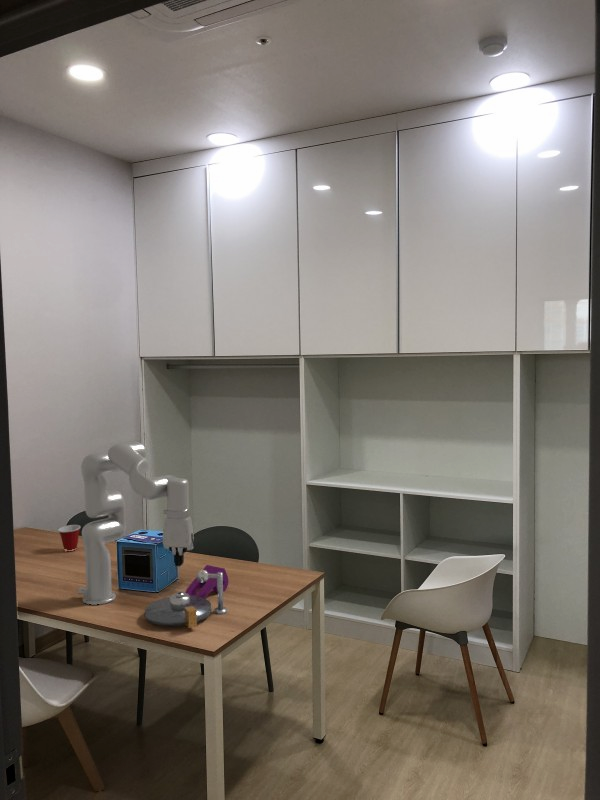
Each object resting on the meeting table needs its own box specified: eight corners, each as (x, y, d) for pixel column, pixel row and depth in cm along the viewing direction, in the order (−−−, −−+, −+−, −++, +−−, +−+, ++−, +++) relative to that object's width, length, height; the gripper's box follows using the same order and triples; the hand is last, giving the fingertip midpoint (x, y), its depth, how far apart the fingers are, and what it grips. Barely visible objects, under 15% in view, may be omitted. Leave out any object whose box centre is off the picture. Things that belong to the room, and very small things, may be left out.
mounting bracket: (205, 615, 253) (230, 583, 267) (199, 599, 250) (224, 568, 263) (187, 611, 258) (212, 580, 272) (180, 595, 255) (206, 564, 268)
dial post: (196, 612, 241) (195, 571, 240) (201, 607, 246) (200, 567, 245) (224, 614, 239) (224, 573, 238) (229, 609, 244) (228, 568, 243)
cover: (173, 611, 233) (173, 597, 233) (168, 605, 239) (167, 591, 239) (192, 608, 236) (191, 594, 236) (186, 602, 243) (186, 588, 242)
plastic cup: (54, 551, 323) (53, 528, 323) (73, 546, 332) (72, 523, 331) (66, 555, 317) (65, 531, 316) (85, 550, 325) (85, 526, 325)
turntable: (159, 634, 218) (158, 617, 218) (137, 608, 242) (137, 592, 242) (224, 620, 230) (224, 603, 230) (197, 596, 254) (197, 581, 254)
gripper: (153, 515, 223) (154, 567, 224) (194, 517, 220) (195, 570, 221) (162, 510, 230) (163, 560, 232) (202, 512, 227) (202, 563, 228)
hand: (178, 565), depth 226 cm, fingers closed
